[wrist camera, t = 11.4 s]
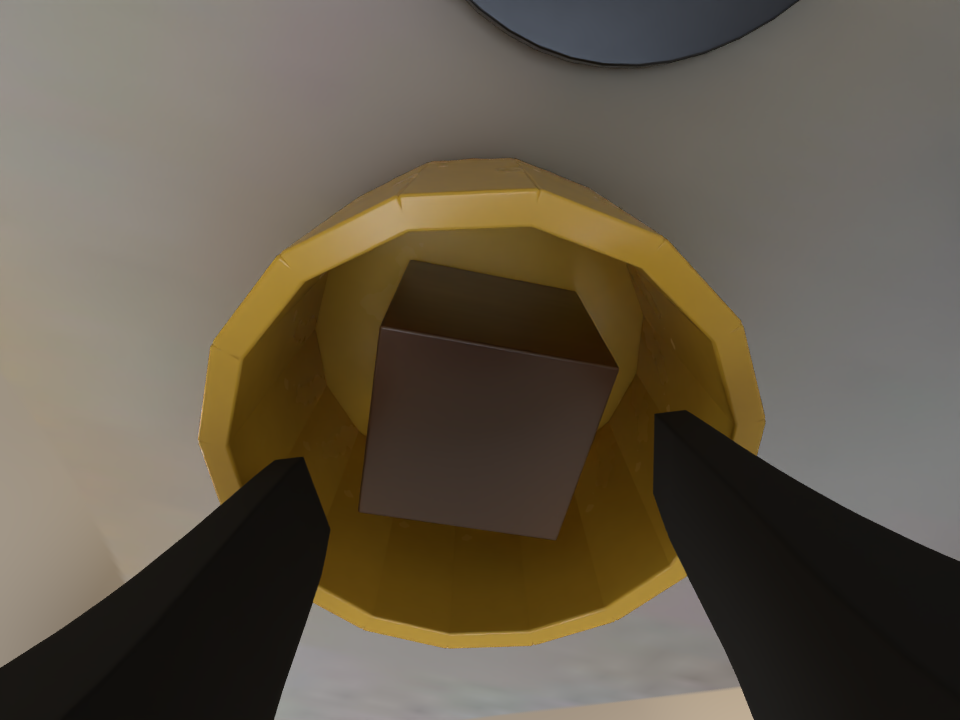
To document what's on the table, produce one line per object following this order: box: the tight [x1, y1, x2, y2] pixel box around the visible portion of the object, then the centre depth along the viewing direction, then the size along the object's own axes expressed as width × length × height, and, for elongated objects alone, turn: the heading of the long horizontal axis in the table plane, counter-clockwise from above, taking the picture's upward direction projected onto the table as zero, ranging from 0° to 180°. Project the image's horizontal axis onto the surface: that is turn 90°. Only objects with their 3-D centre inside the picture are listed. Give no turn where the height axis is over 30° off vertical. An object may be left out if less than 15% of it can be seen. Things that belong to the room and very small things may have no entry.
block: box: [358, 260, 619, 540], centre depth 13 cm, size 5×5×5 cm
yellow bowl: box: [198, 158, 765, 648], centre depth 13 cm, size 11×11×6 cm
